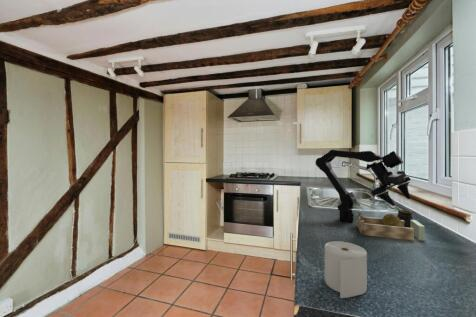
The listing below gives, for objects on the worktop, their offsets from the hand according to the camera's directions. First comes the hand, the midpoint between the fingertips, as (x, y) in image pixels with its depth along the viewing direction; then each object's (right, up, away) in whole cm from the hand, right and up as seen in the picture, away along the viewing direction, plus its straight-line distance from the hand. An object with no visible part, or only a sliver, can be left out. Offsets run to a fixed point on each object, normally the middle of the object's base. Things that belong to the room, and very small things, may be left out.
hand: (401, 202), depth 103 cm
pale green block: (+3, -14, -5) cm, 15 cm away
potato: (-6, -14, -2) cm, 15 cm away
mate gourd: (+7, -14, +8) cm, 18 cm away
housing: (-9, -14, -1) cm, 17 cm away
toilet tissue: (-47, -15, -43) cm, 65 cm away
